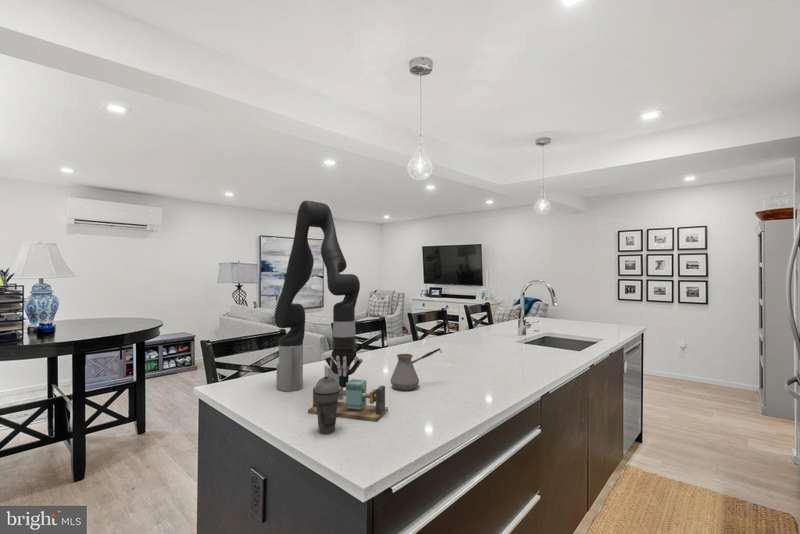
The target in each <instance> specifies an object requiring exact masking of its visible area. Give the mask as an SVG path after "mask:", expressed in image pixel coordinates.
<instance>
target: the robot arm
mask: <svg viewBox="0 0 800 534" xmlns="http://www.w3.org/2000/svg"><path fill="white" fill-rule="evenodd" d="M334 221H335V220H334V216H333V214H332V210H331V208H330V206H329V205H328V204H326V203H325V202H324V203H323V202H319V201H313V200H303V201H302V202H301V203H300V204H299V207H298V210H297V215H296V222H295V229H294V236H293V243H292V247H291V251H290V255H289V259H288V262H287V267H286V273H285V277H284V279H283V280H284V281H283V285H282V288H281V292H280V296H279V298H278V300H277V302H276V303H277V304H276V307H275V310H274V311H275V312H274V316H273V317H274V319H273V320H274V324H275V326H276V327H277V328H278V329H288V328H290V329H289V330H288V332H287V333H286V334H283V335H282V336H281V337H279V339H278V363H277V364H276V390H279V391H282V392H294V391H299V390H302V388H303V387H304V384H303V383H304V338H305V332H306V331H305V330H306V329H305V328H306V310H305V307H304V306H303V304H301V303H293V302H294V299H295V297H296V295H298V293H299V292H300V291H301V290H302V289H303V288H304V287H305V285H306V284H307V283H308V282H309V280H310V278H311V276H312V274H313V273H312V272H313V268H314V264H315V259H314V256H313V252H312V250H311V246H310V245H309V241H308V239H309V238H308V237H309V230H310V227H311V228H320V229H321V230H322V233H323V240H322V243H321V246H320V256H321V259H322V260H323V264H324V266H325V269H326V277H327V278H326V280H327V281H326V282H327V290H328V291H329V292H330V294H332V295H333V296H337V297H338V296H343V300H342V301H340V302H336V303H335V304H334V305H333V309H332V315H333V317H332V320H333V321H332V329H331V331H332V332H331V333H332V341H331V342H332V343H331V344H332V346H331V347H332V351H331V354H330V356H329V357H326V358H325V362H326V364H327V365H329V367H330V362H332V367H331V370H332V371H333V373H334V374H338V375H339V385H340V387H342V388H343V389H346V383H347V382H348V381H350V380H349V379H350V377H349V376H351V375H353V374H354V373H355V372H356V371H357V370H358V369H359V367H360V366H361V365H362V363H363V359H362V358H359V357H358V356H357V352H356V332H357V331H356V321H355V319H356V318H355V317H356V316H355V315H356V313H355V312H356V311H355V309H356V305H357V301H358V297H359V293H360V290H361V289H360V288H361V284H360V279H359V277H358V275H356V274H354V273H353V274H352V273H342V272H344V271H345V270H346V269H347V265H348V264H347V261H346V259H345V256H344V254H343V252H342V249H341V247H340V244H339V240H338V237H337V231H336V226H335V223H334ZM341 273H342V274H341ZM352 363H353V365H352Z"/></svg>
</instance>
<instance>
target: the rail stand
mask: <svg viewBox="0 0 800 534" xmlns="http://www.w3.org/2000/svg"><path fill="white" fill-rule="evenodd" d="M314 391H315V387H314V388H312V407H310V408H308V411H307V414H310V415H317V403H316V398H315V393H314ZM339 395H342V396H343V397H346V390H343V391H339ZM362 398H366V399H369V404H366V405H365V406H364V407H362V408H361V409H353V408H346V401H345V402H344V401H337V413H336V418H343V419H349V420H350V419H351V420H359V421H365V422H366V421H367V422H375V423H378V422H379V421H380V420H381V419H382V418H383V417H384V416H385V415H386V413H388V412H389V408H388V406H387V407H386V386H385V385H379V386H378V387H377V388H373V389H372V390H371V391H370V392H369V393H368V392H366V393H362ZM374 403H375V405H373V404H374Z"/></svg>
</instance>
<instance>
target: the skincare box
mask: <svg viewBox="0 0 800 534" xmlns="http://www.w3.org/2000/svg"><path fill="white" fill-rule="evenodd" d="M329 369H330V367H329V365H328V364H326V365H324V377H329ZM330 377H332V378H334V379H335V380H336V381H337V383H338V386H339V390H340V391H344V388H342V387H340V385H339V375H338V374H334V373H333V371H332V370H331V375H330ZM343 399H344V396H342V395H339V396H338V400H343Z"/></svg>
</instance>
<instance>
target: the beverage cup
mask: <svg viewBox="0 0 800 534" xmlns="http://www.w3.org/2000/svg"><path fill="white" fill-rule="evenodd" d="M331 367H332V362H330V369H329V377H325V376H324V377H321V378H320V379H319V380H317V382H316V385H315V387H314V388H315V391H314V393H315V398H316V403H317V414H316V415H317V416H316V417H317V426H318V433H319V434H322V435H331V434H333V433H335V430H336V429H335V428H336V425H337V424H336V423H337V421H336V420H337V417H336V413H337V402H339V401H338V400H339V399H338V396H339V391H340V390H339V386H338V383H337V381H336V380H335V379H334V378H332V377H330V375H331Z"/></svg>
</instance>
